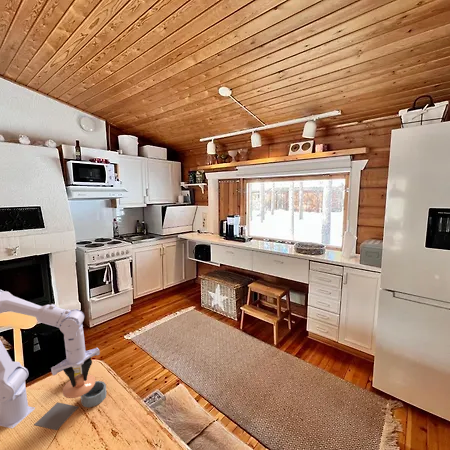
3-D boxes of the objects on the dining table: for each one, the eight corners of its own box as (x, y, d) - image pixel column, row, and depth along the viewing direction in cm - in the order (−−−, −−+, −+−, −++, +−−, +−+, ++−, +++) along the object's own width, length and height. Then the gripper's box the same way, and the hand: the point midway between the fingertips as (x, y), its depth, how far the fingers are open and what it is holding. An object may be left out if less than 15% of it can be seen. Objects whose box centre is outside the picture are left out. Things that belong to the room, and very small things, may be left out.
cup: (76, 406, 90) (75, 396, 90) (92, 389, 98) (91, 379, 97) (96, 410, 89) (95, 399, 88) (111, 392, 96) (110, 382, 96)
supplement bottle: (86, 371, 108) (84, 350, 106) (90, 378, 104) (87, 356, 102) (71, 378, 104) (69, 356, 103) (74, 385, 100) (72, 362, 99)
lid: (55, 395, 86) (54, 385, 85) (78, 374, 95) (77, 365, 95) (81, 400, 84) (80, 389, 83) (101, 378, 93) (100, 368, 93)
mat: (34, 426, 83) (33, 424, 83) (57, 403, 91) (57, 402, 91) (57, 431, 81) (56, 430, 81) (79, 408, 89) (78, 406, 89)
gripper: (53, 362, 79) (58, 401, 81) (101, 341, 90) (105, 376, 92) (47, 352, 84) (52, 389, 86) (94, 334, 95) (97, 367, 97)
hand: (79, 382), depth 89 cm, fingers closed on lid, 3 cm apart
